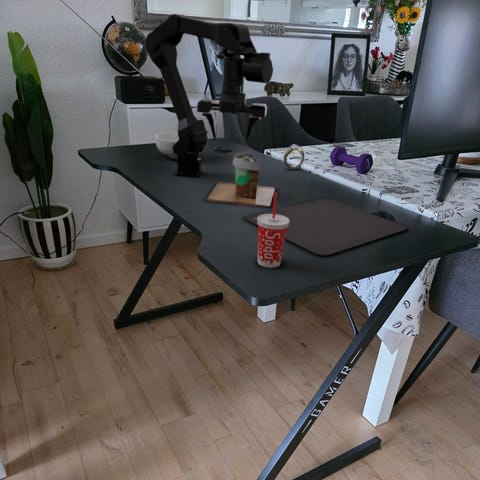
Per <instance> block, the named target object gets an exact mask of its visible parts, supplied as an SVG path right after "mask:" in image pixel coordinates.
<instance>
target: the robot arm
mask: <svg viewBox="0 0 480 480" xmlns="http://www.w3.org/2000/svg"><path fill="white" fill-rule="evenodd" d="M184 34H186V35H190V36H194V37H198V38H201V39H205V40H206V39H207V40H210V41H212V42H214V43H215V44H216V45H218V46H220V47H221V50H220V52H218V53H217V54H216V56H215V57H216V59H218V60H223V63H222V66H223V67H222V87H221V88H222V90H221V92H220V95H219V97H218V98H219V99H218V102H216V100H215V99H209V98H201V99H200V100H199V101H198V102H197V104H196V105H197V106H196V112H197V113H201V116H203V117H205V119H206V120H207V122H208V124H209V127H210V131H211V134H212V138H213V140H214V141H216V140H217V136H218V135H217V133H218V132H217V111H219V113H222V114H225V113H227V114H228V113H229V114H232V115H236V114H237V113H243V114H250V115H249V118H248V125H247V130H246V136H245V144H248V143H249V140H250V137H251V135H252V132H253V130H254V127H255V124H256V123H257V121H261V120H262V119H263V118H266V116H267V114H268V113H267V112H268V106H267V104H266V103H259V102H252V103H251V105H247V93H244V92H245V91H244V90H245V81H247V82H251V83H259V84H269V83H270V82H271V80H272V77H273V73H274V67H273V61H272V59H271V53H270V52H258V51H257V49H256V46H255V45H254V43H253V41H252V39H251V33H250V29H249V27H248V26H247V25H246V24H244V23H236V22H235V23H233V22H218V23H216V22H212V21H207V20H202V19H198V18H193V17H189V16H186V15H185V14H178V13H172V14H171V15H169V16H168V18H166V20H165V21H163V22H162V23H160V24H159V25H157V26H156V27H155V28H154V29H153V30H152V31H150V32H149V33H147V35H146V37H145V41H144V48H145V50H146V53H147V55H148V56H149V58H150V61H151V62H152V63H153V64H154V65H155V66H156V68H158V70H159V71H160V73H161V77H162V79H163V82H164V85H165V87H166V90H167V94H168V96H169V98H170V99H169V100H170V101H171V105H172V107H173V110H174V113H175V115H176V118H177V131H178V137H179V140H178V141H177V142H176V143H175V144H174V145H173V147H172V148H173V152H174V154H176V155H177V159H176V160H177V161H176V162H177V164H176V165H177V171H176V172H175V175H177V176H185V177H196V178H197V177H198V175H200V174H201V172H202V158H201V157H200V154H201V153H203V152H204V148H205V146H206V145H207V142H208V134H209V131H207V128H206V125H205V121H204V120H203V119H198V118H197V117H196V116H195V114H194V111H193V109H192V105H191V103H190V100H189V98H188V95H187V92H186V88H185V85H184V83H183V80H182V76H181V75H180V71H179V69H178V66H177V60H178V50H177V46H178V45H179V44H180V43H181V41H182V39H183V36H184ZM242 56H243V57H242Z"/></svg>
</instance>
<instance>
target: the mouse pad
mask: <svg viewBox="0 0 480 480" xmlns="http://www.w3.org/2000/svg"><path fill="white" fill-rule="evenodd" d="M264 214H273V209H271V210H266V211H263V212H258V213H253V214H249V215H246V216H245V217H244V219H245V220H246V221H247V222H249V223H251V224H253V225H255V226H256V227H257V226H258V223H257V221H258V220H257V218H258V216H260V215H264ZM275 214H277V215H282V216H285V217H287V218H288V219H289V220H290V221H289V226H288V227H287V231H286V236H285V241H288V242H290V243H292V244H295V245H296V246H298V247H300V248H302V249H305V250H306V251H308V252H310V253H312V254H315V255H317V256H321V257H327V256H331V255H334V254H337V253H340V252H343V251H346V250H350V249H353V248H355V247H358V246H361V245H362V246H363V245H365V244H368V243H372V242H374V241H377V240H380V239H383V238H385V237H388V236H393V235H395V234H398V233H401V232H405V231H406V230H407V227H406V226H405V225H402V224H400V223H397V222H394V221H391V220H390V219H386V218H384V217H381V216H379V215H375V214H373V213H370V212H368V211H365V210H362V209H359V208H357V207H355V206H351V205H349V204H346V203H343V202H341V201H338V200H336V199H332V198H321V199H316V200H312V201H307V202H303V203H298V204H293V205H289V206H285V207H279V208H276V211H275Z"/></svg>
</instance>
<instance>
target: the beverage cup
mask: <svg viewBox="0 0 480 480" xmlns="http://www.w3.org/2000/svg"><path fill="white" fill-rule="evenodd" d="M277 199H278V192H274V195H273V206H272V207H273V208H272V210H273V214H264V215H260V216H258V218H257V220H258V221H257V223H258V227H257V230H258V231H257V263H258V265H260V266H261V267H264V268H269V269H270V268H271V269H272V268H277V267H279V266H281V263H282V257H283V253H284V246H285V241H286V239H285V236H286V231H287V227H288V226H289V221H290V220H289V219H288V218H287V217H285V216H282V215H277V214H275V211H276V209H277V201H278V200H277Z"/></svg>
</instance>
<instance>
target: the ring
mask: <svg viewBox="0 0 480 480" xmlns="http://www.w3.org/2000/svg"><path fill="white" fill-rule="evenodd" d="M294 151H298V152H299V154H300V156H301V157H300V161H299V163H298V164H297V165H289V164H288V161H287V160H288V156H289V155H290V154H291V153H293V152H294ZM304 161H305V152H304V149H303V148H301V147H300V145H298V144H296V143H294V144H292V145H289V147H288V148H287V149H286V150H285V153H284V155H283V162H284V165H285V166H286V167H287V168H288V169H291V170H296V169H298V168H300V167H301V166H302V165H303V163H304Z"/></svg>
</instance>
